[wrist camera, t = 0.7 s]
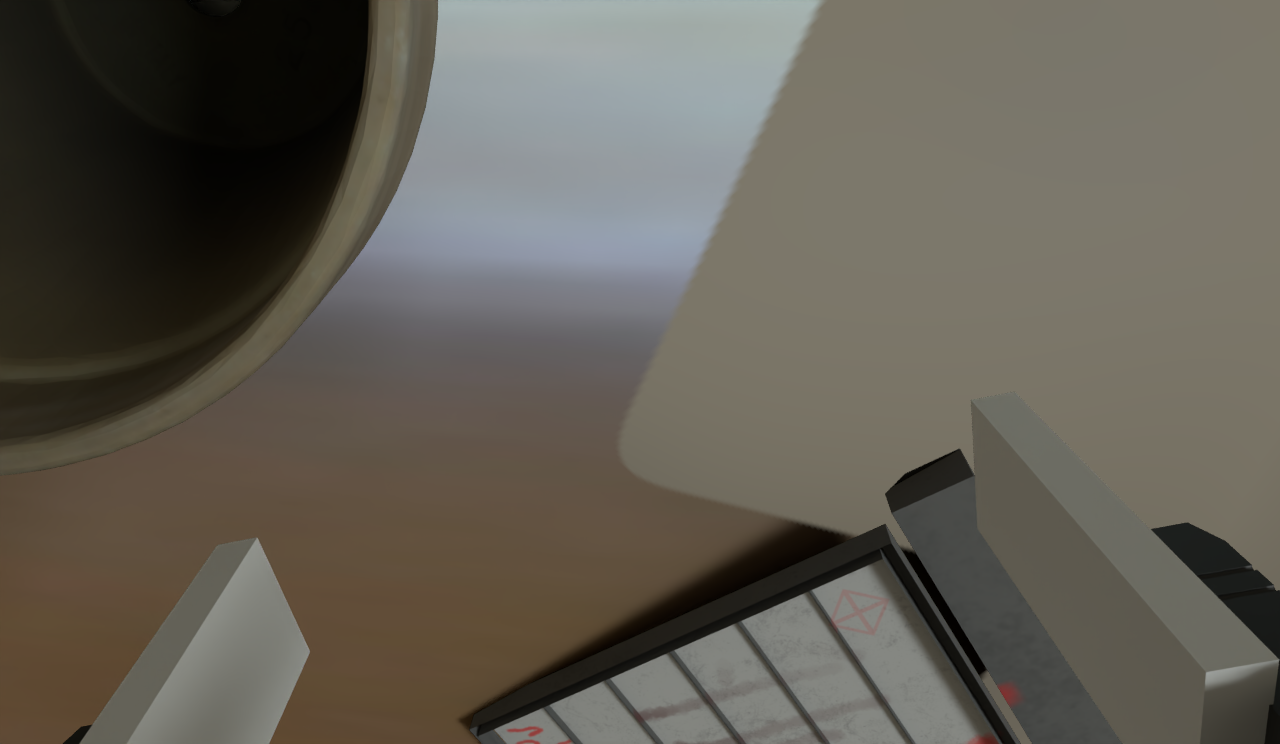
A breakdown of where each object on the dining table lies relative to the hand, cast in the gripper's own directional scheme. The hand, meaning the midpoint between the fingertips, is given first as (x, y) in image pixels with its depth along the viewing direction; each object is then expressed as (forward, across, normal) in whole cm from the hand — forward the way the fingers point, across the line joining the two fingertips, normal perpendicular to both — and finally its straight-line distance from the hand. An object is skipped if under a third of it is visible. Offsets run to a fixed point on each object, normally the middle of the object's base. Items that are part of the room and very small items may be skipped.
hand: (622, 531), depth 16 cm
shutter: (+26, +6, -37) cm, 46 cm away
